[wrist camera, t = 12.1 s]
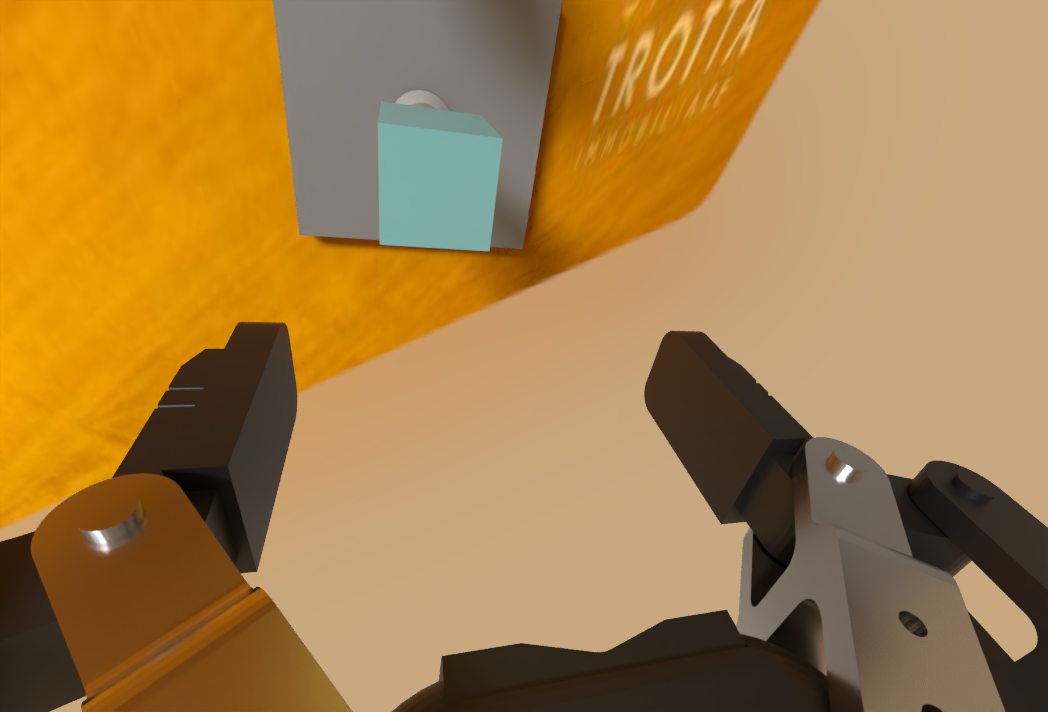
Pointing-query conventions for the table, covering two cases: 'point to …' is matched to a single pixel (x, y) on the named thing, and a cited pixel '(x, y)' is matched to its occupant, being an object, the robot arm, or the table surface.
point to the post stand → (409, 95)
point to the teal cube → (436, 177)
